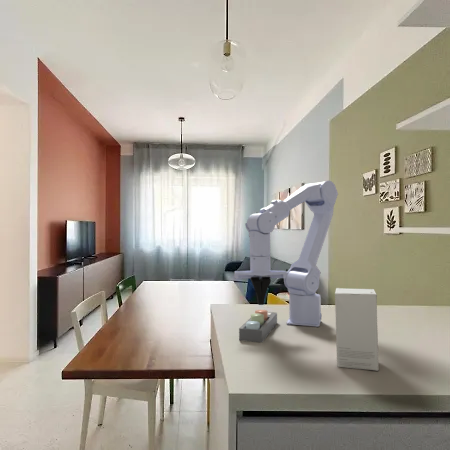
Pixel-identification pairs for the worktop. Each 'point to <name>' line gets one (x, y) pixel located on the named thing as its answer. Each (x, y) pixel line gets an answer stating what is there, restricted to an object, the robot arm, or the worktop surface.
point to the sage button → (258, 318)
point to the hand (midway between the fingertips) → (260, 304)
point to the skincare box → (356, 328)
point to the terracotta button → (263, 313)
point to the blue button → (253, 325)
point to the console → (258, 334)
